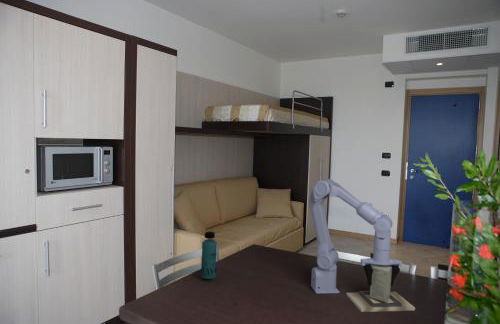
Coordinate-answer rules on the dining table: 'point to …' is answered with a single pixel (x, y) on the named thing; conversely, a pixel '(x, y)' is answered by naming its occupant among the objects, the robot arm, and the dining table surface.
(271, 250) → the dining table surface
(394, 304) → the socket board
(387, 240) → the robot arm
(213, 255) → the beverage bottle
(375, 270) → the skincare box
